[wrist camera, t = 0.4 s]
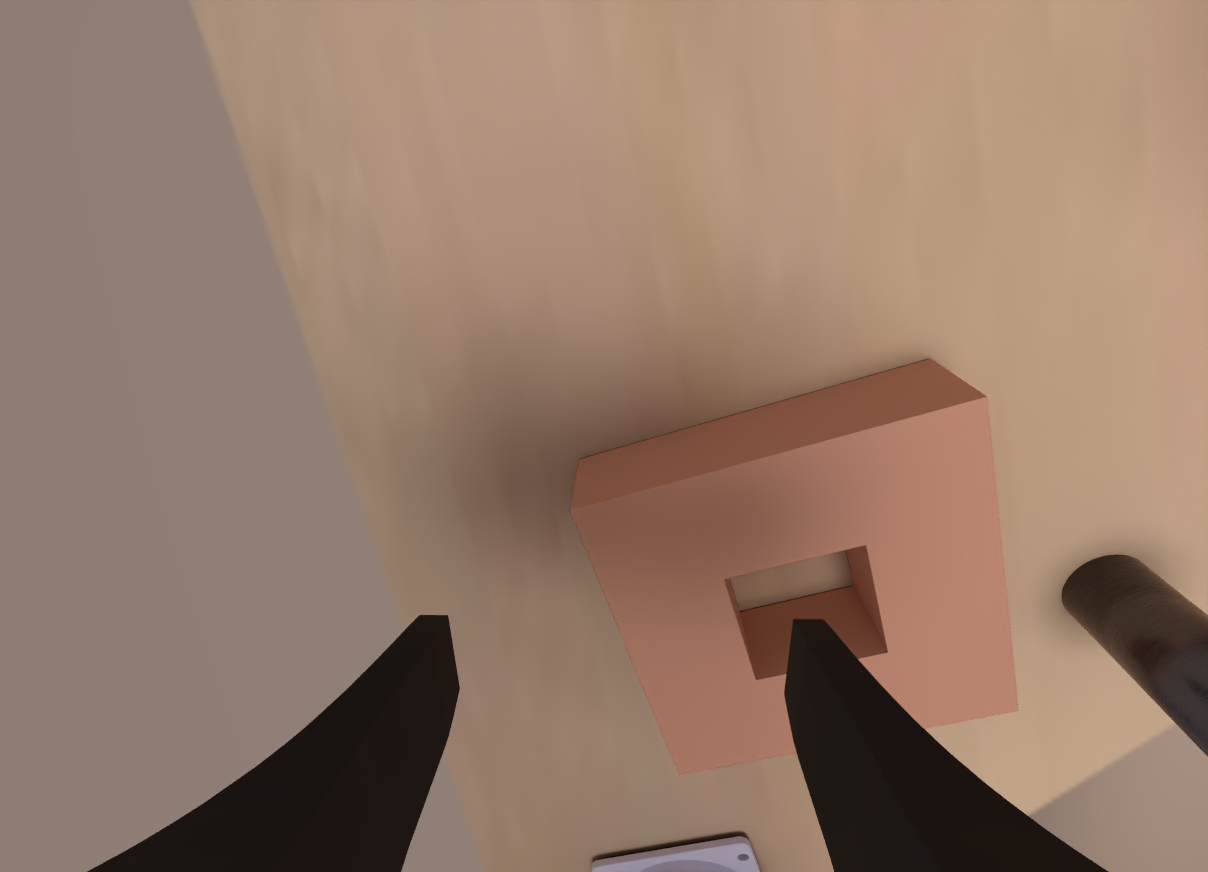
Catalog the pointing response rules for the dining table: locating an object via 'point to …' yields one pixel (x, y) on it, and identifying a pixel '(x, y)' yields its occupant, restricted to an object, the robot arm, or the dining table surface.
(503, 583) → the dining table surface
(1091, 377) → the dining table surface
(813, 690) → the robot arm
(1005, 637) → the socket block
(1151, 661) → the peg
